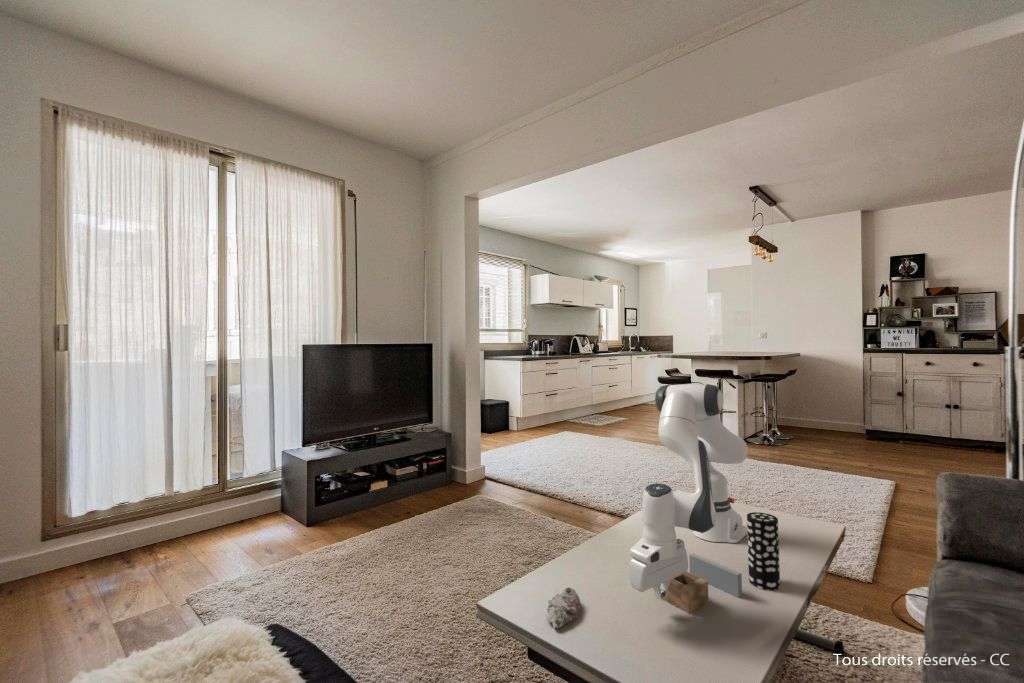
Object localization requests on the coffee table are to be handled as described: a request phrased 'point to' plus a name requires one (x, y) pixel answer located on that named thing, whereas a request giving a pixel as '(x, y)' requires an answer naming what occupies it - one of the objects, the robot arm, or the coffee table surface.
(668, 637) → the coffee table surface
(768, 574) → the white-spotted black cylinder
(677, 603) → the block
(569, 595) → the mineral rock
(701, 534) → the robot arm
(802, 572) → the coffee table surface
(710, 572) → the slab
